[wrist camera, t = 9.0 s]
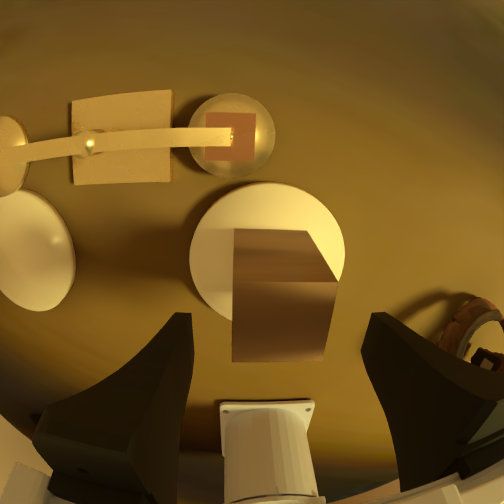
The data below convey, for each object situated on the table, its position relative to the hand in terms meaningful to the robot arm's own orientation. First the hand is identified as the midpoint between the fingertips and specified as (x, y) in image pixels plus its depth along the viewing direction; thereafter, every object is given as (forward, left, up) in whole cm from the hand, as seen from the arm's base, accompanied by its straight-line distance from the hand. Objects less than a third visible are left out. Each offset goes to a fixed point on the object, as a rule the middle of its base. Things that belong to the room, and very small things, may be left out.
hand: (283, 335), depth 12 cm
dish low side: (0, 0, -8) cm, 8 cm away
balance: (+7, +9, -8) cm, 13 cm away
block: (0, 0, -7) cm, 7 cm away
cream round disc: (0, +17, -8) cm, 19 cm away
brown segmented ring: (-8, -18, -8) cm, 21 cm away
